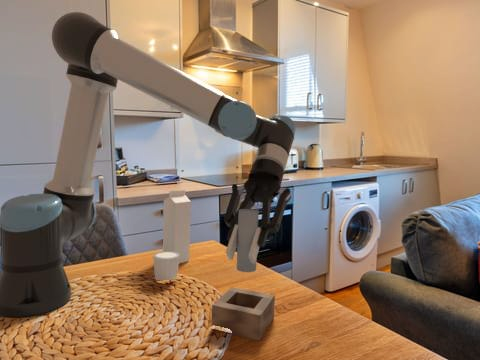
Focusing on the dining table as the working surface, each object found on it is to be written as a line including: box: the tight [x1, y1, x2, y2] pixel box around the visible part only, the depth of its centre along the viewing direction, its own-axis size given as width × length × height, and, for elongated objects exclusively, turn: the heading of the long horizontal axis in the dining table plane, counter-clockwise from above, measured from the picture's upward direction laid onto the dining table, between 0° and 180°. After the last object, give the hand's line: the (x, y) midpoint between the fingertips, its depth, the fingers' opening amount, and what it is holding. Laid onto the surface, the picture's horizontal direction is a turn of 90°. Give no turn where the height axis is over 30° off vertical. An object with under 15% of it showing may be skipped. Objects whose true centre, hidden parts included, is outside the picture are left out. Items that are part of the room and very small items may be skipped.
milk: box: [162, 189, 192, 264], centre depth 110 cm, size 6×6×22 cm
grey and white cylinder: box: [152, 251, 180, 281], centre depth 95 cm, size 7×7×7 cm
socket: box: [211, 287, 276, 342], centre depth 74 cm, size 10×10×5 cm
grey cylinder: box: [236, 208, 260, 273], centre depth 72 cm, size 4×4×12 cm
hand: (240, 257), depth 69 cm, fingers closed on grey cylinder, 4 cm apart
